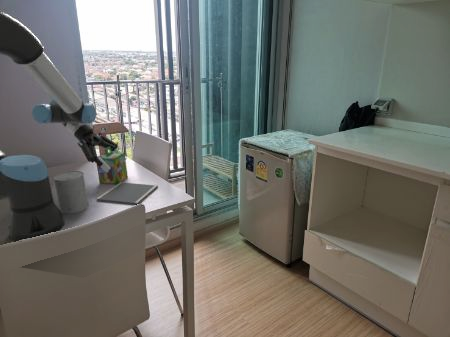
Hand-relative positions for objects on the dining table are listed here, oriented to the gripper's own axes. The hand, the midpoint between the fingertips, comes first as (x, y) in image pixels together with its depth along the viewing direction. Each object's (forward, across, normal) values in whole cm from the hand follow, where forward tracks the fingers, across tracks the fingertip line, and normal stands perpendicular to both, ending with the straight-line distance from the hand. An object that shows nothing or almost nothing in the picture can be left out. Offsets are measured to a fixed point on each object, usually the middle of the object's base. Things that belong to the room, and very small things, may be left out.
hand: (117, 165), depth 139 cm
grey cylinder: (+4, +27, -6) cm, 28 cm away
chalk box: (+3, 0, -7) cm, 8 cm away
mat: (+13, +12, +3) cm, 18 cm away
